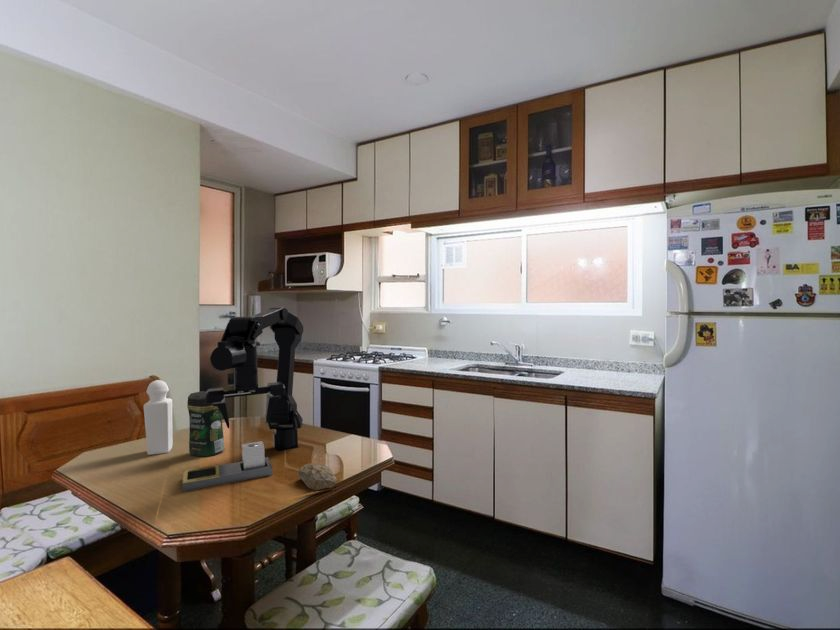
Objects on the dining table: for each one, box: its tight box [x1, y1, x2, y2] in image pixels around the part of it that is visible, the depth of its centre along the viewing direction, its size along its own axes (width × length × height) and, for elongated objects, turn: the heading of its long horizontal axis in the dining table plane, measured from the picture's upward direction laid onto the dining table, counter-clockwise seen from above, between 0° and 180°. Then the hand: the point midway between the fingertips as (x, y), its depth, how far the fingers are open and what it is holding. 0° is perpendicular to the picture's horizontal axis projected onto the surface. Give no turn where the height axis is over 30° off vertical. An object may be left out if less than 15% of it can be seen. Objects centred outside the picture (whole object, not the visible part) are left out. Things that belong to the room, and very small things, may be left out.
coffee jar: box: [187, 390, 225, 458], centre depth 131 cm, size 10×8×19 cm
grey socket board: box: [181, 456, 273, 492], centre depth 110 cm, size 20×9×3 cm, turn 116°
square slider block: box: [241, 440, 266, 471], centre depth 112 cm, size 5×5×7 cm
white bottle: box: [143, 379, 173, 456], centre depth 134 cm, size 6×6×22 cm
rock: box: [298, 463, 338, 491], centre depth 105 cm, size 8×11×4 cm
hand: (247, 425), depth 113 cm, fingers open, 9 cm apart
